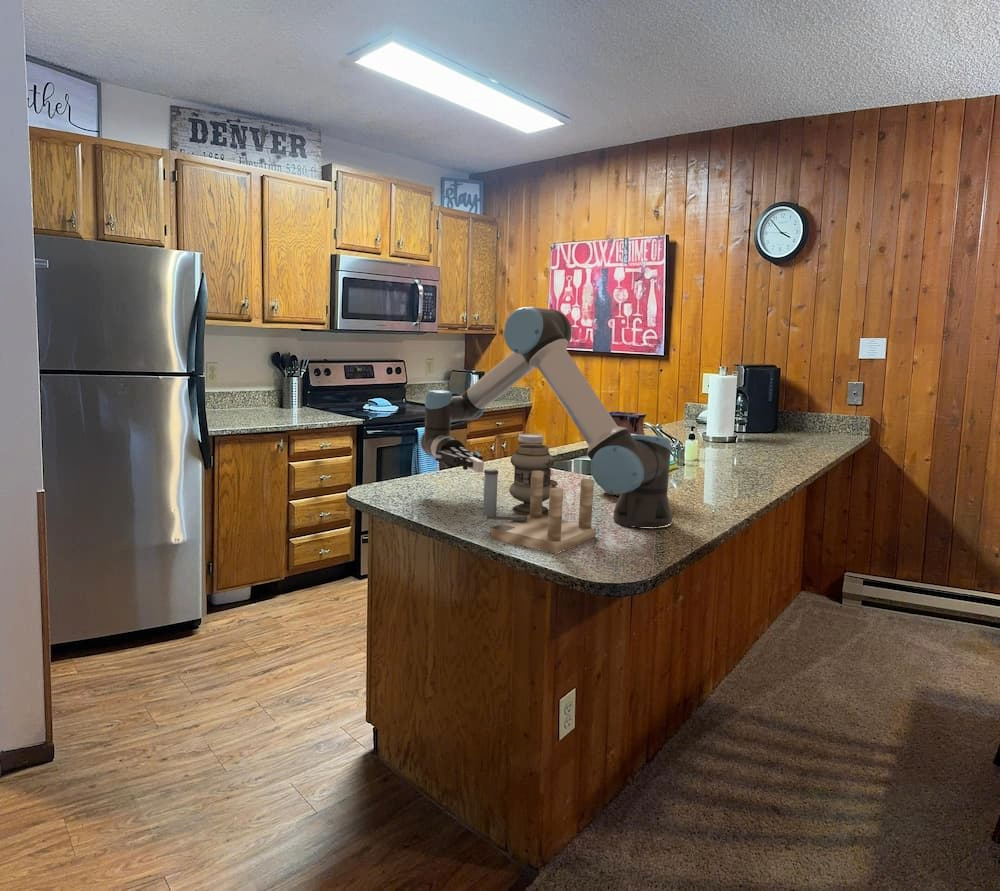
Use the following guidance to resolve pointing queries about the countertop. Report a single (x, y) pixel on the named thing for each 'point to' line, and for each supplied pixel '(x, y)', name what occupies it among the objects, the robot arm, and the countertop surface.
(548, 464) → the apothecary jar
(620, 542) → the countertop surface
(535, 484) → the ash stool
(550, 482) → the cup and saucer
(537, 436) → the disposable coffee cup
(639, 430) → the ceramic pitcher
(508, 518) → the folding leg
